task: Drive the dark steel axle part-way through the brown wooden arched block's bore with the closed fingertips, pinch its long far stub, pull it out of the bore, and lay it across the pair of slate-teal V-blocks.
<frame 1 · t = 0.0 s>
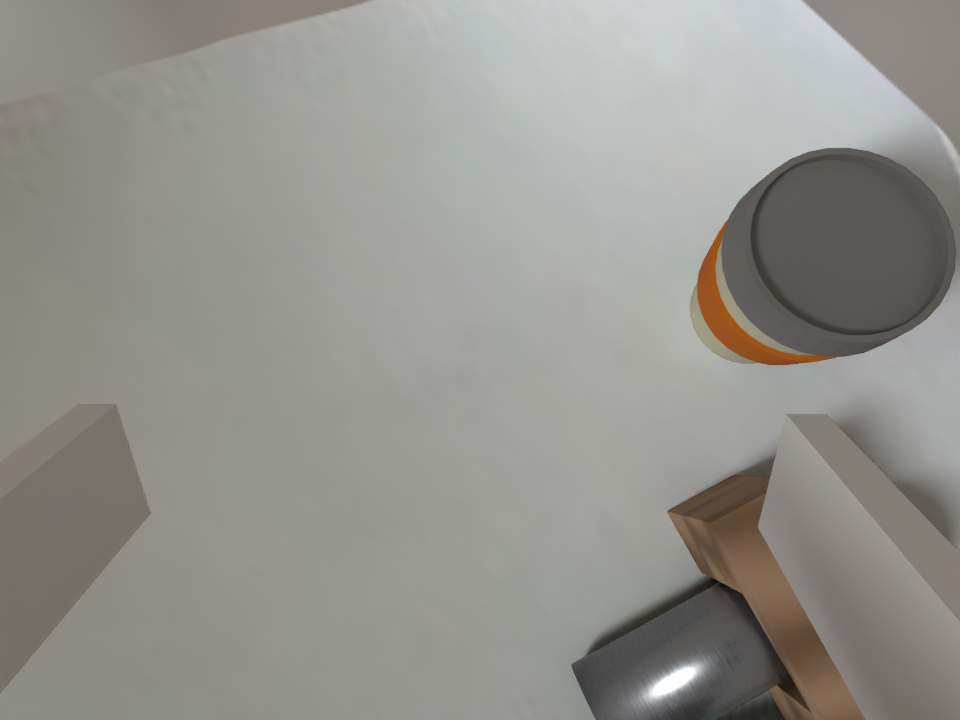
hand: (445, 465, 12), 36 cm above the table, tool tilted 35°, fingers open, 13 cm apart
brown wooden arched block: (762, 601, 44), on the table
steel axle: (727, 619, 44), on the table
reusable coffee cup: (743, 311, 49), on the table
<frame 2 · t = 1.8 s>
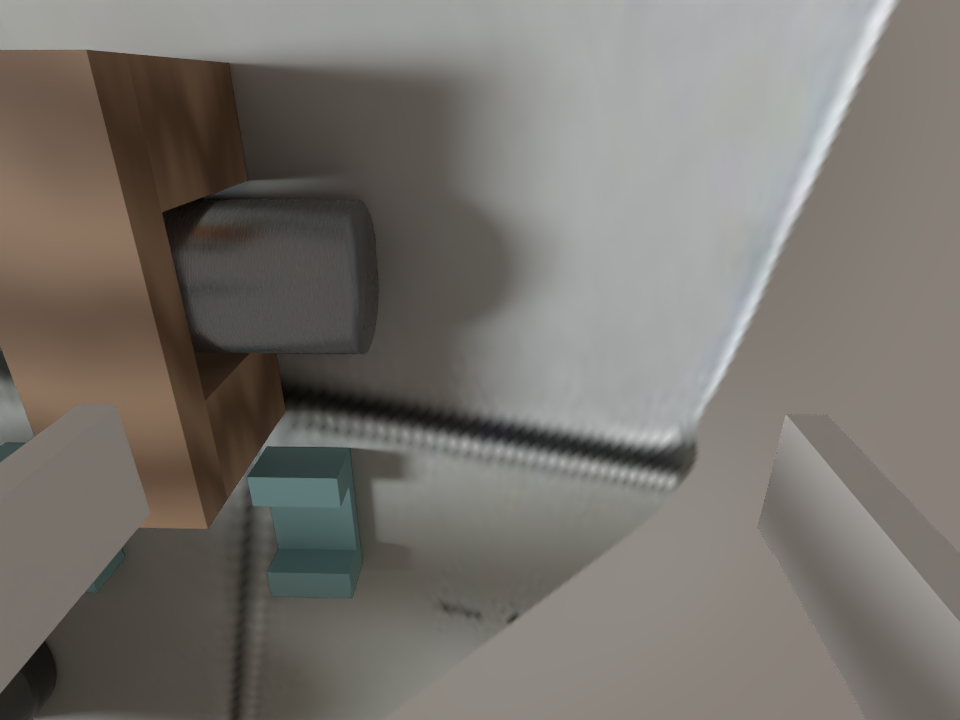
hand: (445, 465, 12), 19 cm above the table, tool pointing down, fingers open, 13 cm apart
brown wooden arched block: (203, 258, 30), on the table
steel axle: (148, 257, 30), on the table
v-blocks: (191, 505, 37), on the table
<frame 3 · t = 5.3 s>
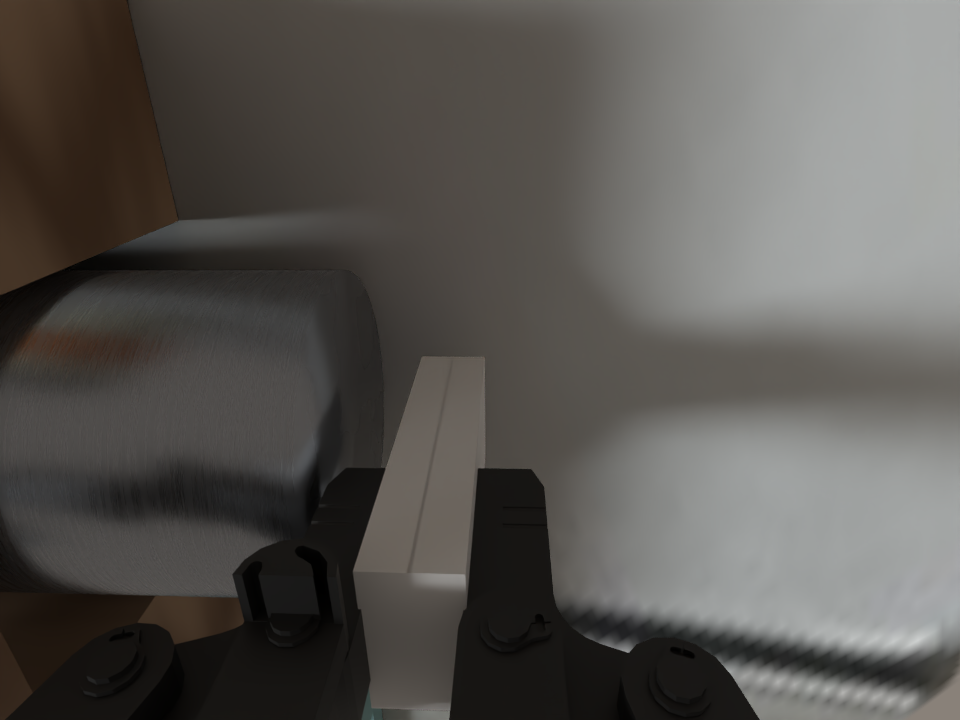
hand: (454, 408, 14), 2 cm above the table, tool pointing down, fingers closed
brown wooden arched block: (107, 360, 16), on the table
v-blocks: (125, 719, 23), on the table
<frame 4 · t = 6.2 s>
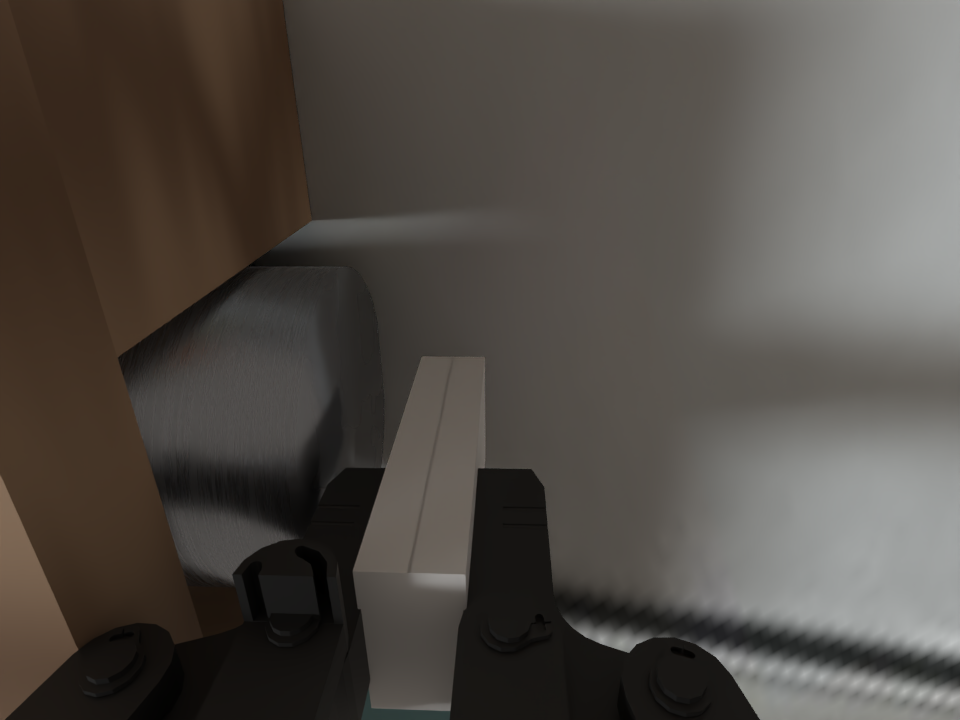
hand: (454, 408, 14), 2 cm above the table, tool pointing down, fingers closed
brown wooden arched block: (224, 361, 16), on the table
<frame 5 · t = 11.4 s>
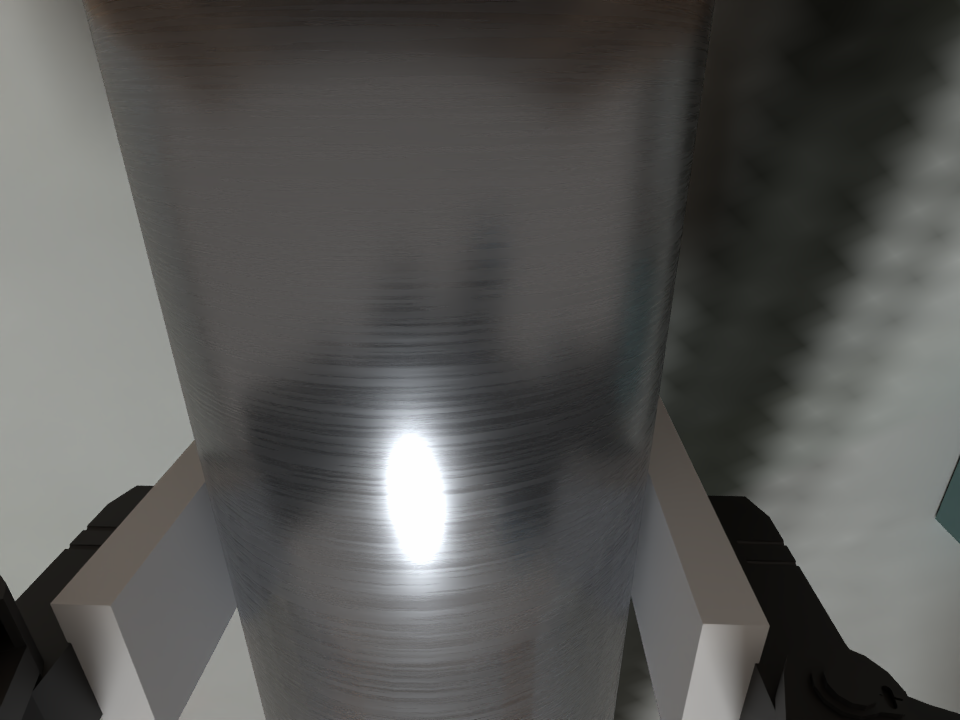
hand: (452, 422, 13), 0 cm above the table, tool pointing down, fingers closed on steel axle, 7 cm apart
steel axle: (455, 230, 12), on the table, touching gripper
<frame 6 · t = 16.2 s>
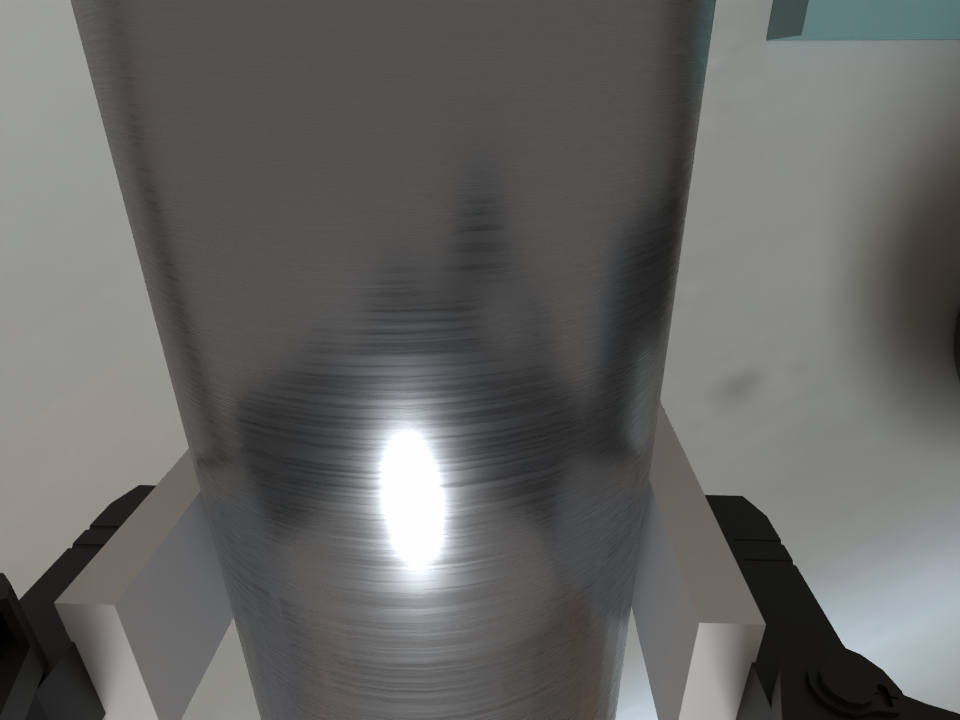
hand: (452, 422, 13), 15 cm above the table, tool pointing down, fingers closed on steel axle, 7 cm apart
steel axle: (453, 222, 12), point 15 cm above the table, touching gripper
when the fingers open (4 cm above the table, at t = 20.2 s): steel axle drops 1 cm, resting on v-blocks.
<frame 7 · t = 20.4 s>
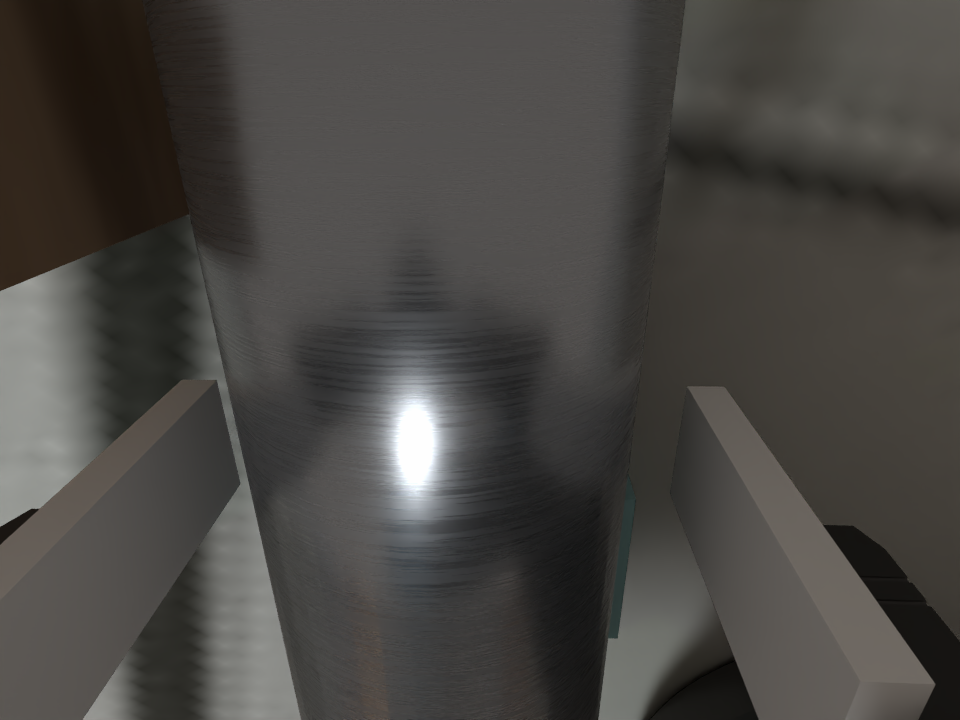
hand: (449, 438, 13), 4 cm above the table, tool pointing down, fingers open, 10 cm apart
steel axle: (459, 212, 13), point 2 cm above the table, touching v-blocks
v-blocks: (460, 252, 15), on the table
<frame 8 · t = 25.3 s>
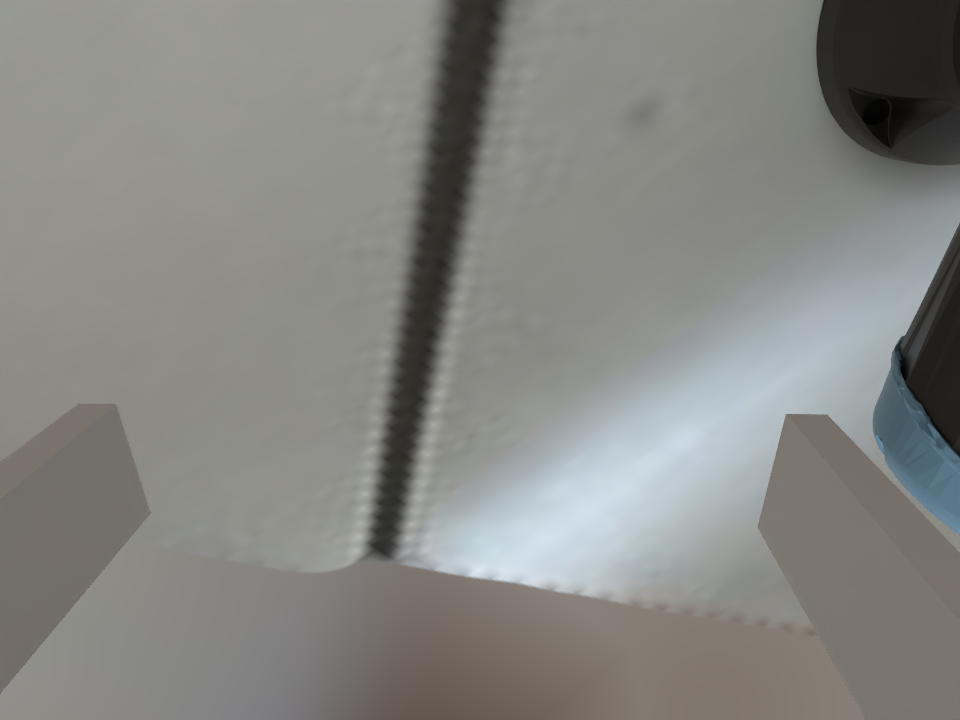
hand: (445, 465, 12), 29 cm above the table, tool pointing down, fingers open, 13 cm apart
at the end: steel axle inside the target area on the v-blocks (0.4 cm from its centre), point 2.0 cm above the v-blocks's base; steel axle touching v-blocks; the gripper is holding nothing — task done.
